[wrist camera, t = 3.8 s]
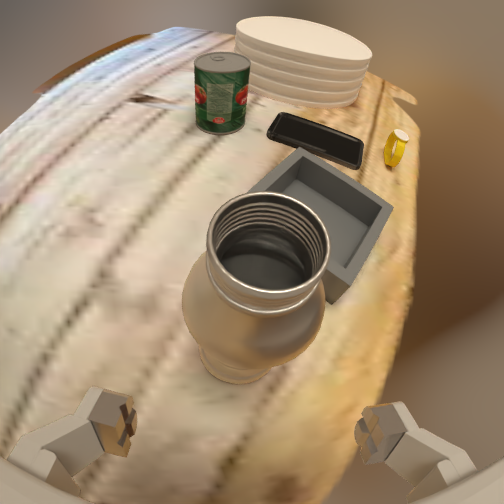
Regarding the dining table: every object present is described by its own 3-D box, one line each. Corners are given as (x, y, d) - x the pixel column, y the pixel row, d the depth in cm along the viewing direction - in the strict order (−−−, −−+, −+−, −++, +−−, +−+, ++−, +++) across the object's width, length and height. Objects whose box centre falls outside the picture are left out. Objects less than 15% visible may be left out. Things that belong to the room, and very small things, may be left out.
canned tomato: (253, 128, 42) (261, 66, 32) (207, 140, 39) (206, 75, 30) (231, 104, 45) (235, 49, 35) (188, 115, 43) (186, 56, 33)
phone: (280, 110, 44) (364, 141, 42) (279, 116, 45) (362, 145, 43) (265, 134, 40) (360, 168, 39) (264, 140, 41) (357, 174, 40)
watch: (395, 175, 41) (412, 150, 35) (380, 169, 41) (396, 144, 36) (393, 151, 43) (407, 127, 38) (379, 145, 44) (392, 121, 38)
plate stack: (267, 47, 63) (272, 12, 53) (365, 82, 58) (379, 45, 48) (206, 80, 50) (207, 30, 40) (340, 127, 45) (359, 73, 35)
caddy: (231, 232, 32) (233, 204, 28) (291, 174, 37) (299, 146, 33) (331, 304, 29) (350, 286, 24) (376, 230, 34) (393, 207, 30)
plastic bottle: (204, 316, 27) (175, 154, 10) (273, 321, 27) (357, 173, 10) (198, 382, 24) (132, 336, 6) (272, 386, 24) (389, 348, 7)
